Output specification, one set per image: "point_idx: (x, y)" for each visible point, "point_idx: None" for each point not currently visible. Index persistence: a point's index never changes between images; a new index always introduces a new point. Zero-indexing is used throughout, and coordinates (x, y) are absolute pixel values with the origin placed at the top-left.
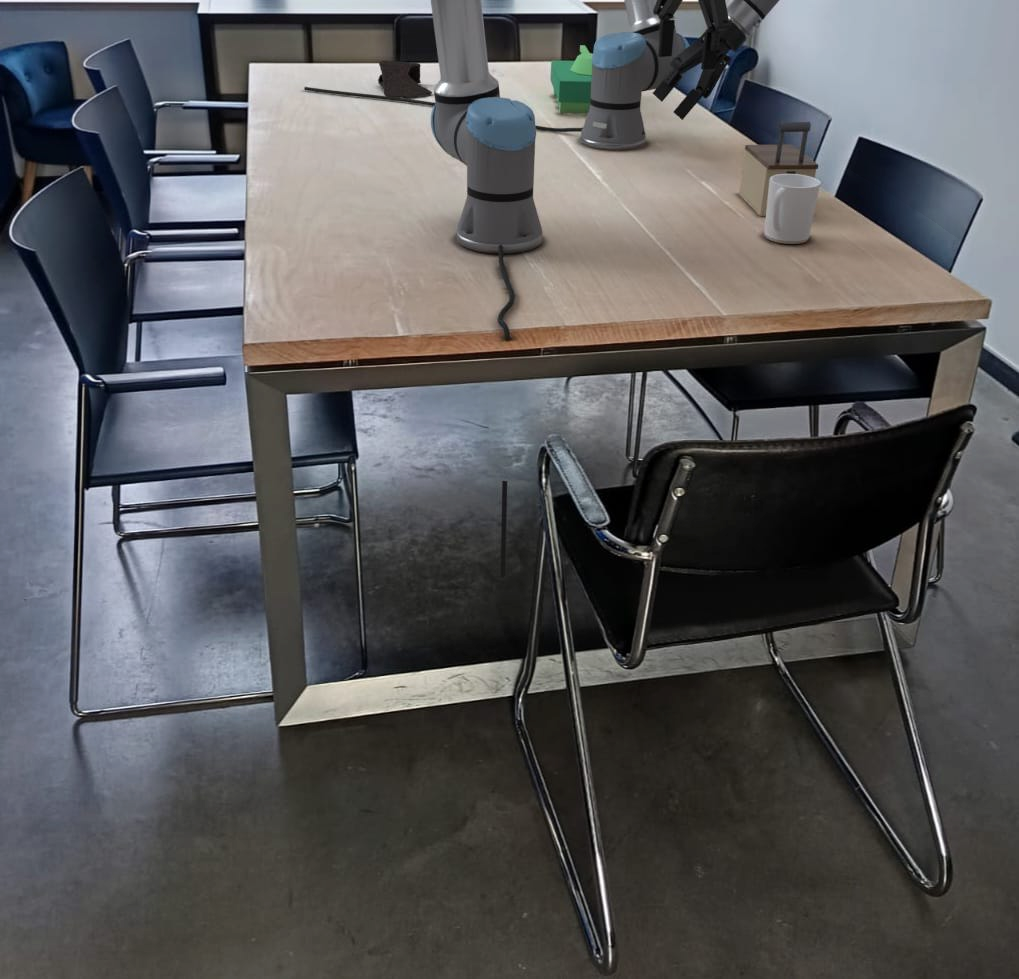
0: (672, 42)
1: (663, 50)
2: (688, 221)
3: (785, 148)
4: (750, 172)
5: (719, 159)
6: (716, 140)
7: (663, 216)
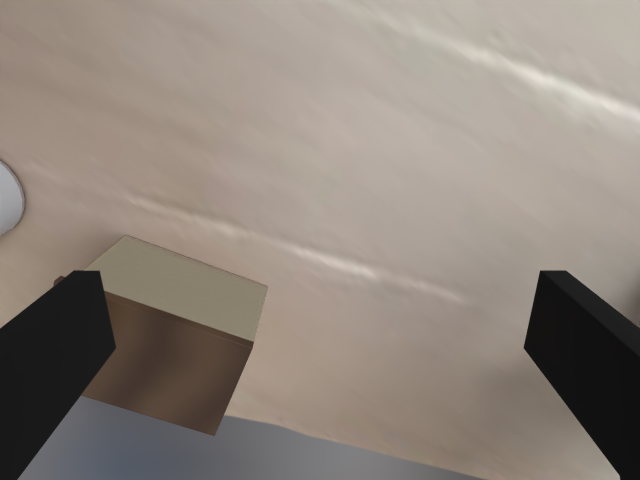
0: (569, 404)
1: (556, 309)
2: (137, 67)
3: (187, 403)
4: (199, 298)
5: (484, 394)
6: (589, 461)
7: (190, 32)
